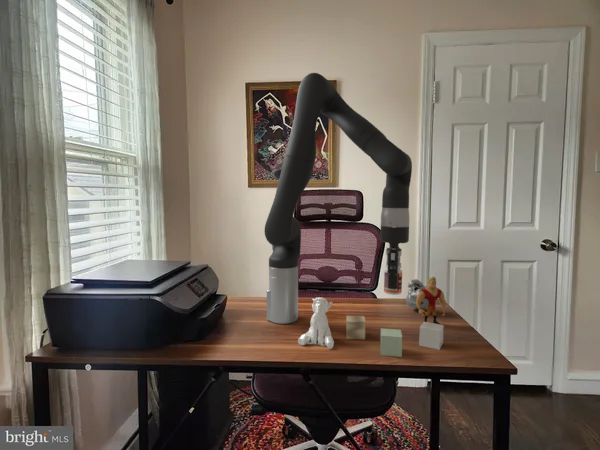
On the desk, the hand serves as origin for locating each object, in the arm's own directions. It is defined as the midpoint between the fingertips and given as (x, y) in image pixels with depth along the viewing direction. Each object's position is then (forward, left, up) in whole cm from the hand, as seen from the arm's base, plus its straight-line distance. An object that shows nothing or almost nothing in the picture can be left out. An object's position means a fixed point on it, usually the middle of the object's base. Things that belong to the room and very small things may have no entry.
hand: (392, 285), depth 97 cm
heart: (+8, +26, -15) cm, 31 cm away
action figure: (+11, +14, -15) cm, 23 cm away
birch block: (-10, -2, -15) cm, 18 cm away
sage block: (0, -10, -15) cm, 18 cm away
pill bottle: (0, 0, -2) cm, 2 cm away
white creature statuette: (-19, -9, -15) cm, 25 cm away
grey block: (+10, -2, -15) cm, 18 cm away
